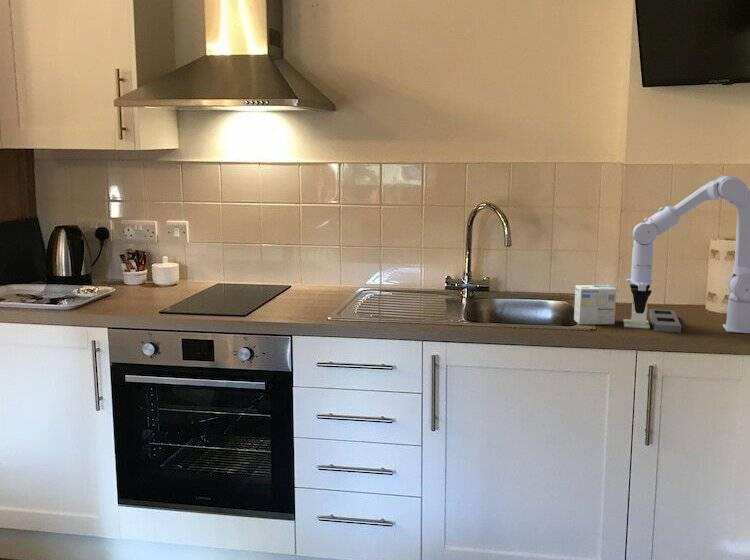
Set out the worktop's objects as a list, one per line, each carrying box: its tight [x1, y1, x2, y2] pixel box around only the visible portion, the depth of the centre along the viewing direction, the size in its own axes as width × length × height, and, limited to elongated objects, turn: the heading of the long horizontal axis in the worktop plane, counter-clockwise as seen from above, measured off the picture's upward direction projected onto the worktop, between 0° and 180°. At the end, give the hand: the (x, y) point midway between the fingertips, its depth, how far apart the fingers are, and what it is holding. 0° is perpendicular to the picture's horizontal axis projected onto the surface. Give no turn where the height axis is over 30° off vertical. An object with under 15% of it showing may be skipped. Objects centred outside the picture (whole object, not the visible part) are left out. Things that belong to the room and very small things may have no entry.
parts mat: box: [622, 318, 651, 329], centre depth 233 cm, size 7×8×1 cm
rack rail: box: [648, 308, 682, 334], centre depth 234 cm, size 7×21×2 cm, turn 165°
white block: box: [630, 300, 648, 325], centre depth 232 cm, size 4×4×6 cm
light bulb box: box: [573, 284, 617, 325], centre depth 235 cm, size 11×7×11 cm, turn 92°
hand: (639, 310), depth 232 cm, fingers open, 5 cm apart
